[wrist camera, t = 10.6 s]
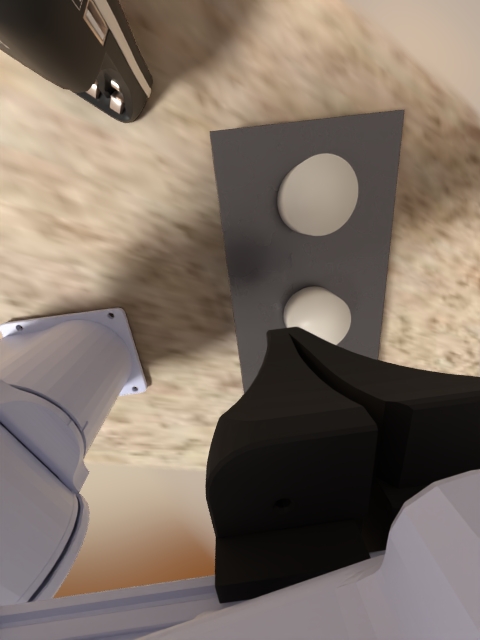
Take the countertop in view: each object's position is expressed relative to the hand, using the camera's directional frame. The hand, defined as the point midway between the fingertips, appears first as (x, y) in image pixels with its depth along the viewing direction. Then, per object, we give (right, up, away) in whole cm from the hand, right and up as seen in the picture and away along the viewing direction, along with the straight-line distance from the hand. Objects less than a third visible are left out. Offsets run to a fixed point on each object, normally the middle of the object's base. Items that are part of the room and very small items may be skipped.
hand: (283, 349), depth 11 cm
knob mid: (+3, +3, +10) cm, 11 cm away
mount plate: (+3, +3, +10) cm, 11 cm away
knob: (+2, +10, +7) cm, 12 cm away
